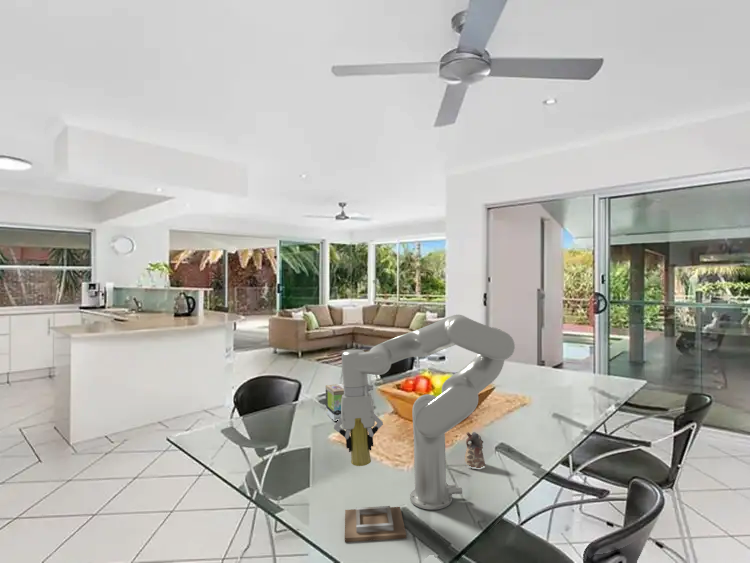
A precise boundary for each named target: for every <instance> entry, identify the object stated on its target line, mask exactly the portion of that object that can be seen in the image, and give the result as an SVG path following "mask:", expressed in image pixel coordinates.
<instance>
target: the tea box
mask: <svg viewBox="0 0 750 563" xmlns="http://www.w3.org/2000/svg"><path fill="white" fill-rule="evenodd" d="M342 395H344V386H343V383H336V384H327V385H325V414H326V415H327V416H328V417H329V418H330V419H331V420H332V419H333V420H336V419H340V418H341V399H342ZM333 420H332V421H333Z"/></svg>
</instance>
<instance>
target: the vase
mask: <svg viewBox="0 0 750 563" xmlns="http://www.w3.org/2000/svg"><path fill="white" fill-rule="evenodd" d="M368 435H369V433H368V430H367V428H364V425H363V423H362V422H361V418H356V419H355V426H354V428H353V429H351V431H350V436H351V452H350V453H351V454H350V456H351V457H350V458H351V460H350V462H351V464H352V465H353V466H356V467H364V466H368V465H369V464H370V463H371V462H372V459H371V453H370V450H369V442H368Z"/></svg>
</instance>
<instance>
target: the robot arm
mask: <svg viewBox="0 0 750 563" xmlns="http://www.w3.org/2000/svg"><path fill="white" fill-rule="evenodd" d="M515 345H516V344H515V341H514V339H513V337H512V336H511V335H510V334H509V333H508V332H506V331H503V330H501V329H499V328H497V327H492V326H489V325H486V324H484V323H481V322H478V321H476V320H474V319H471V318H469V317H467V316H465V315H462V314H454V315H450V316H448V317H445V318H443V319H440V320H438V321H436V322H433V323H431V324H428V325H426V326H423V327H421V328H418V329H415V330H412V331H409V332H407V333H405V334H402V335H398V336H396V337H394V338H393V337H392V338H391V339H388V340H386V341H384V342H381V343H379V344H376V345H374V346H372V347H371V348H370V349H369V351H364V350H362V349H359V348H358V349H347V350H345V351H343V352H342V354H341V368H342V369H341V370H342V381H343V383H342V384H343V386H344V395H342V399H341V418H340V419H339V420H338V421H337V422H336V423H335V424H334V426H333V429H334V430H335V431H336V432H338V433H339V434H340V435H341V436H342V437H343V438H345V445H346V447H345V448H346V449H348V453H351V434H350V431H351V429H353V428H354V426H355V419H356V418H361V422H362V423H363V425H364V428H367V430H368V442H369V451H372V447H374V435H375V434H376V433H377V432H378V430H379V429H380V428H381V427H382V426H383V425H384V422H383V421H382V420H381V419H380V418H379V416H377V414H376V413H375V408H374V402H373V401H374V400H373V396H372V393H371V392H370V391H373V390H374V386H373V385H371V384H369V381H368V380H369V379H368V375H373V376H374V375H377V376H381V375H385V374H386V373H387V372H389V370H390V369H391V367H392V364H395V363H397V362H400V361H403V360H405V359H408V358H414V357H415V358H416V357H417V358H424V357H429V356H431V355H434V354H436V353H439V352H441V351H443V350H445V349H448V348H451V347H453V346H458V347H460V348H462V349H465V350H467V351H469V352H471V353H475V354H476V356H475V357H474V358H473V359H472V360H471V361H470V362H469V363H468V364H467V365H465V366H464V367H462V368H461V369H460V370H459V371H457V372H456V373H454V374H453V375H451V376H450V377H449V378H447V379H446V380H445V381H444V382H443V384H442V386H441V394H438V396H436V395H434V394H427V393H426V394H423V395H421V396H419V397H418V398H417V399H416V400H415V401H414V403H413V405H412V412H411V413H412V429H413V430H412V431H413V460H414V461H413V466H414V489H413V490H412V491H411V492H410V494H409V496H410V497H409V498H410V499H409V500H410V502H411V503H412V504H413V505H414V506H416V507H418V508H420V509H424V510H431V511H432V510H441V509H445V508H446V507H448V506H450V505H451V503H452V501H453V500H452V499H453V495H462V494H463V489H462V488H463V487H462V486H457V485H456V484H449V483H447V468H446V467H447V466H446V463H447V462H446V461H447V460H446V435H445V434H446V433H447V432H449V431H450V430H452V429H453V428H455V427H456V426H457V425H459V424H460V423H461V422H463V421H464V420H465V419H467V418H468V417H469V416H471V414H473V412H474V411H475V410H476V408H477V406H478V403H479V393H481V392H482V391H483V390H485V389H486V388H487V387H489V385H491V384H492V383H493V382H495V381H496V379H497V378H498V377H499V375H500V374H501V372H502V370H503V367H504V364H505V361H506V360H507V359H509V358H511V357H512V355H513V354H514V352H515V350H516V349H515V348H516V347H515Z"/></svg>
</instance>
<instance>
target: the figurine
mask: <svg viewBox="0 0 750 563" xmlns="http://www.w3.org/2000/svg"><path fill="white" fill-rule="evenodd" d="M466 436H467V439H466V441H465V444H466V451H465V455H464V463H465V462H466V464H467V465H469V466H471V467H476V468H481V467H483V466H485V467H486V462H485V461H486V460H485V458H484V451H483V450H484V447H483V446H484V445H483V444H484V441H483V439H482V437H481V435H479V433H478V432H476V431H474V432H472V433H471V432H466ZM469 442H470V443H469Z"/></svg>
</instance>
